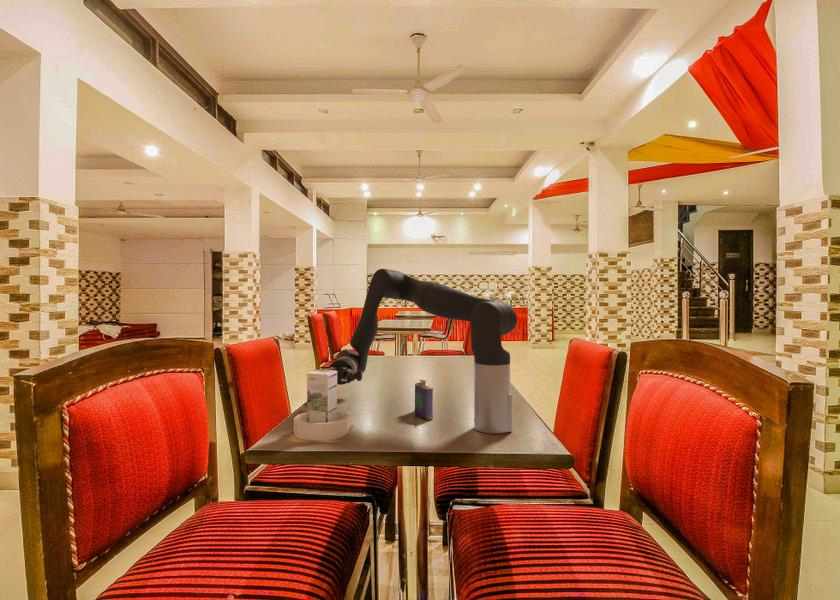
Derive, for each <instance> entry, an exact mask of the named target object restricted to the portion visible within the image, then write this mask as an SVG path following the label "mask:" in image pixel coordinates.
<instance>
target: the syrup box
mask: <svg viewBox="0 0 840 600" xmlns="http://www.w3.org/2000/svg"><path fill="white" fill-rule="evenodd" d="M306 408H307V409H306V412H307V422H308V423H327V422H334V421H337V411H338V384H337V371H334V370H323V369H320V370H316V369H314V370H310V371H309V372H307V373H306Z"/></svg>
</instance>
